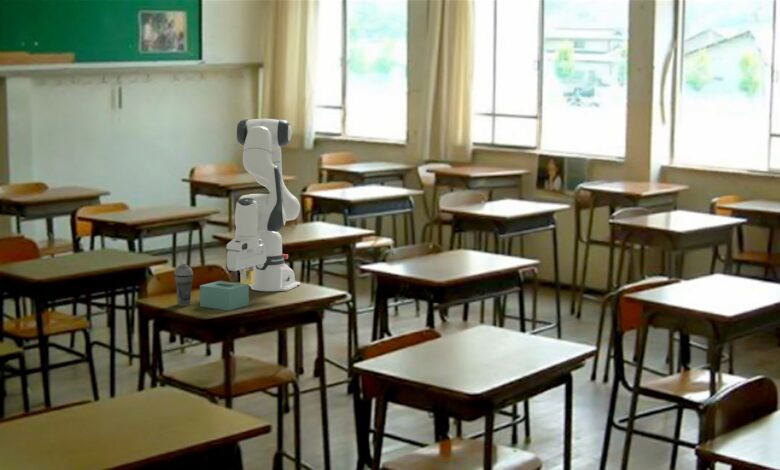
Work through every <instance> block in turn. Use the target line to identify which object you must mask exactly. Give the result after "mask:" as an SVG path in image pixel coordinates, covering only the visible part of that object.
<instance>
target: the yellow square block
mask: <svg viewBox="0 0 780 470" xmlns="http://www.w3.org/2000/svg"><path fill="white" fill-rule="evenodd" d="M245 272H246V275H248V279H246V280H242V276H241V273H240V272H239V273H240V275H239V277H240V280H239V281H240V282H239V283H240V284H248V285H249V284H254V270H249V268H246V271H245Z"/></svg>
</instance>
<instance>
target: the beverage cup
mask: <svg viewBox="0 0 780 470" xmlns="http://www.w3.org/2000/svg"><path fill="white" fill-rule="evenodd" d="M182 257H183V256H182V253H181V252H179V259H180V264H179V265H178V266H177V267H176V268H175V270H174V275H173V276H174V281H175V288H176V291H175V292H176V298H177V299H176V301H177V305H178V306H182V307H185V306H190V305H191V298H192V297H191V296H192V283H193V277H194V271H193V269H192V267H191V266H189V265H188V264H185V263H184V264H183V258H182Z"/></svg>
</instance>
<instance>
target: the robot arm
mask: <svg viewBox="0 0 780 470" xmlns="http://www.w3.org/2000/svg"><path fill="white" fill-rule="evenodd" d="M292 135H293V130H292V127H291V123H290V122H289V121H288V120H285V119H280V118H279V119H275V118H257V119H256V118H255V119H248V118H246V119H242V120H240V121H239V122H238V123H237V126H236V128H235V136H236V141H237V142H238V143H239V144H240V145H241V146H243V153H242V165H243V168H244V170H245V171H246V173H249V174H250V175H251V176H253V177H254V180H255V181H256V182H257V183H258V184H259V185H260V186H263V187H265V188H266V189H267V190H268V192H269V193H249V194H244V195H241V196H240V197H239V199H238V200H237V201H236V203H235V205H236V206H235V210H234V224H235V231H234V232H235V233H234V237H233V238H232V239H231V240H230V241H229V242H228V243H227V244H226V249H227V253H226V267H227V270H228V271H231V272H232V271H233V272H236V271H239V273H241V276H242V280H246V279H248V275H246V272H245V271H246V269H248V270H254V284H248V285H249V287H250V289H251V290H252V291H259V292H287V291H290V290H292V289H295V288H296V287H298V286H297V285H299V286H301V285H300V284H301V281H296V278H295V272H294V270H293V269H292V268H291V267H289V266H288V265H287V264H286V262H285V260H288V258H289V254H285V253H283V237H282V235H281V233H280V231H281V230H282V229H283V228H285V225H286V223H287V222H288V221H294V220H296V219H297V218H298V217H299V215H300V212H301V203H300V202H299V199H298V198H297V196H295V195H293V194H292V193H291V192H290V190H289V189H288V188H287V186H286V184H285V182H284V178H283V167H282V166H283V164H282V163H283V162H282V159H283V158H282V148H284V147H285V146H287V145H289V143H290V142H291V139H292Z"/></svg>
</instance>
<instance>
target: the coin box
mask: <svg viewBox="0 0 780 470" xmlns="http://www.w3.org/2000/svg"><path fill="white" fill-rule="evenodd" d="M249 287H250V286H249V284H244V283H240V282H232V281H231V282H230V281H225V280H217V281H213V282H209V283H205V284H201V285H199V306H200V307H203V308H210V309H215V310H224V311H232V310H237V309H240V308H243V307H247V306H249V305H250V303H249V301H250V299H249V294H250V293H249V291H250V290H249V289H250V288H249Z"/></svg>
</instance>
